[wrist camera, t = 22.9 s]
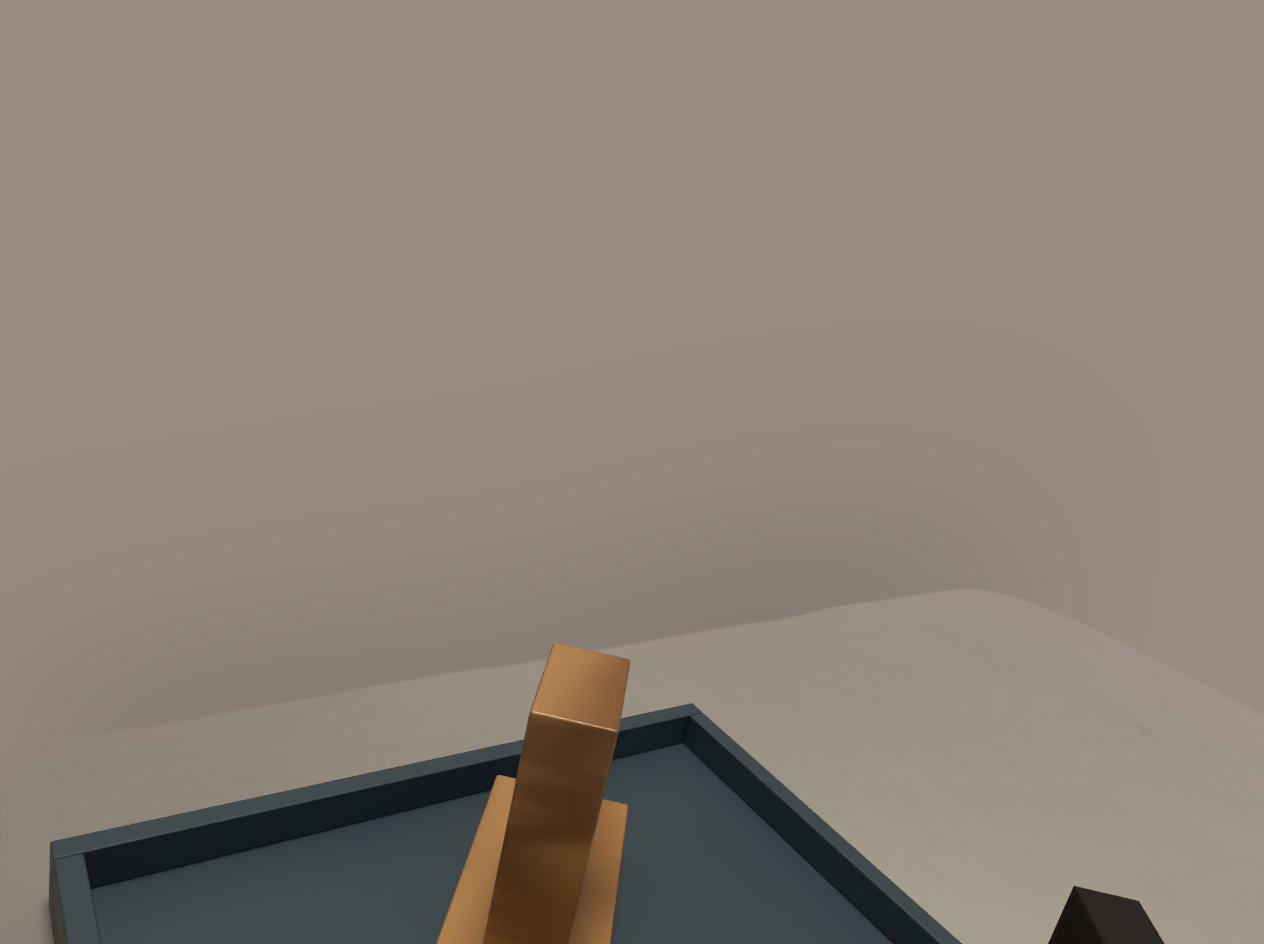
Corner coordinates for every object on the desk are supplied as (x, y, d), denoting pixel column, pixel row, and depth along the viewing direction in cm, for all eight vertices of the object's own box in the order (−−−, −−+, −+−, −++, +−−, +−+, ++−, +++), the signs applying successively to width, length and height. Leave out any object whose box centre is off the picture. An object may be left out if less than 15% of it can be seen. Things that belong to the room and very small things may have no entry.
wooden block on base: (380, 1130, 24) (439, 793, 21) (487, 824, 35) (535, 578, 32) (571, 1175, 24) (659, 845, 21) (616, 854, 35) (677, 611, 32)
